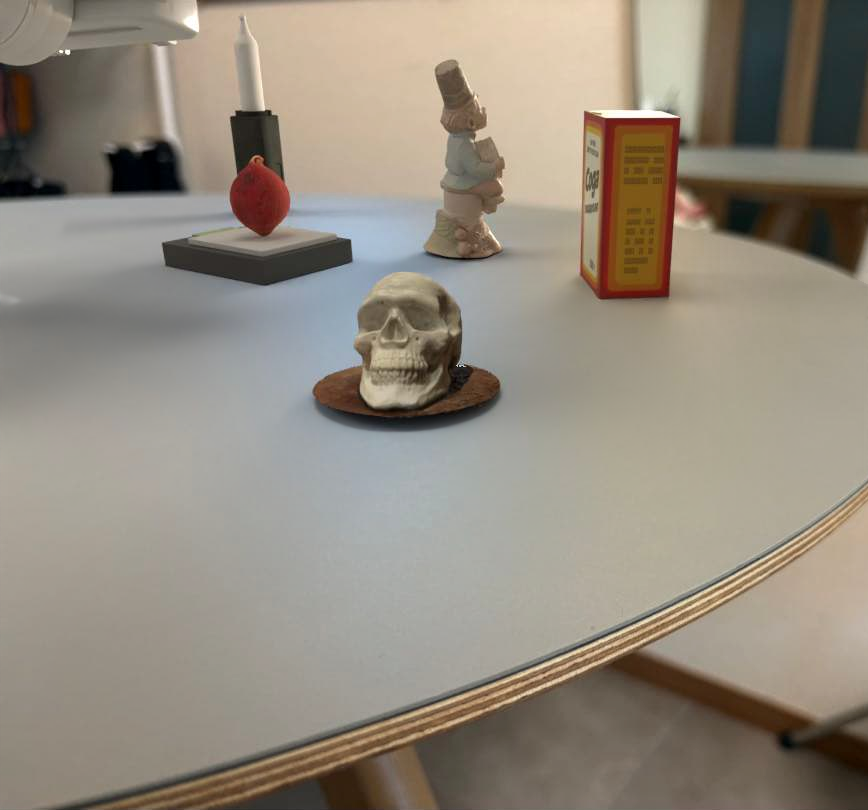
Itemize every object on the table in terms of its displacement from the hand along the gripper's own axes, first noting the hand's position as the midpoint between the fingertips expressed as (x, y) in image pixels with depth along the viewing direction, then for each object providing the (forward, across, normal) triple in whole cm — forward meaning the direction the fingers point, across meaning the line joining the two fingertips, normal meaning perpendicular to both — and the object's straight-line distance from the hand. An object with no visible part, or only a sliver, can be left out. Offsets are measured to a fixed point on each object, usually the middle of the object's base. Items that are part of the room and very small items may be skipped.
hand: (114, 40), depth 71 cm
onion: (+14, -5, +16) cm, 22 cm away
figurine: (+23, -24, +20) cm, 39 cm away
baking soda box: (+11, -42, +24) cm, 49 cm away
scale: (+15, -5, +19) cm, 25 cm away
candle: (+44, +7, +12) cm, 46 cm away
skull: (-18, -27, +28) cm, 43 cm away
